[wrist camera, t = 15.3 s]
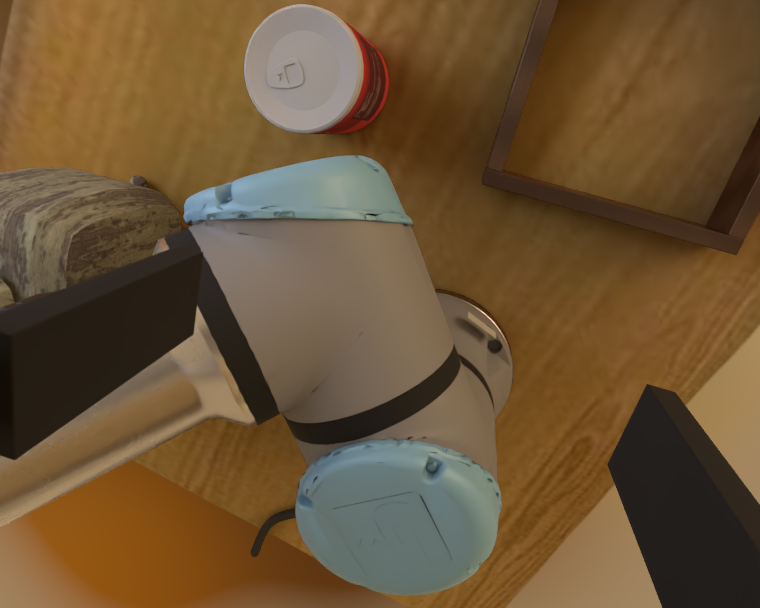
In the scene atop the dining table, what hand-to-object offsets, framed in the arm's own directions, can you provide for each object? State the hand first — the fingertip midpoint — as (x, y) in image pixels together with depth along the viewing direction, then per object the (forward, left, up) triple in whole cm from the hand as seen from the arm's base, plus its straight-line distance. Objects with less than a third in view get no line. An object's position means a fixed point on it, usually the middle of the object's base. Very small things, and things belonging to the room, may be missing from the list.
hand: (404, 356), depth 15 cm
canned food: (+7, +12, -32) cm, 35 cm away
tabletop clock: (-11, +26, -32) cm, 42 cm away
